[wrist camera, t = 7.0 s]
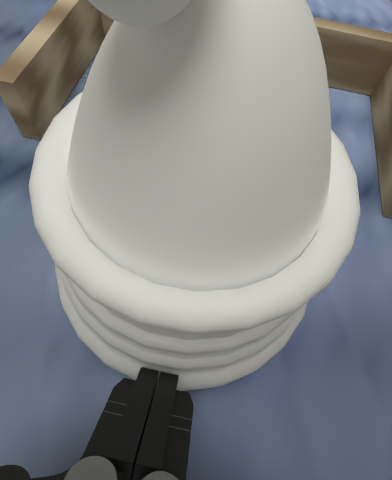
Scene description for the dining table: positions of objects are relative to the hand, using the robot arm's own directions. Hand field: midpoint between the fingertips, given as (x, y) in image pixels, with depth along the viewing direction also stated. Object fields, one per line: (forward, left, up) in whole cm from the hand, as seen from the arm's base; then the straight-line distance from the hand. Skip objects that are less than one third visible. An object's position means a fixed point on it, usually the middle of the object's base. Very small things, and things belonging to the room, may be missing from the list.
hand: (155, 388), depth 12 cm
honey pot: (-5, -5, -6) cm, 9 cm away
